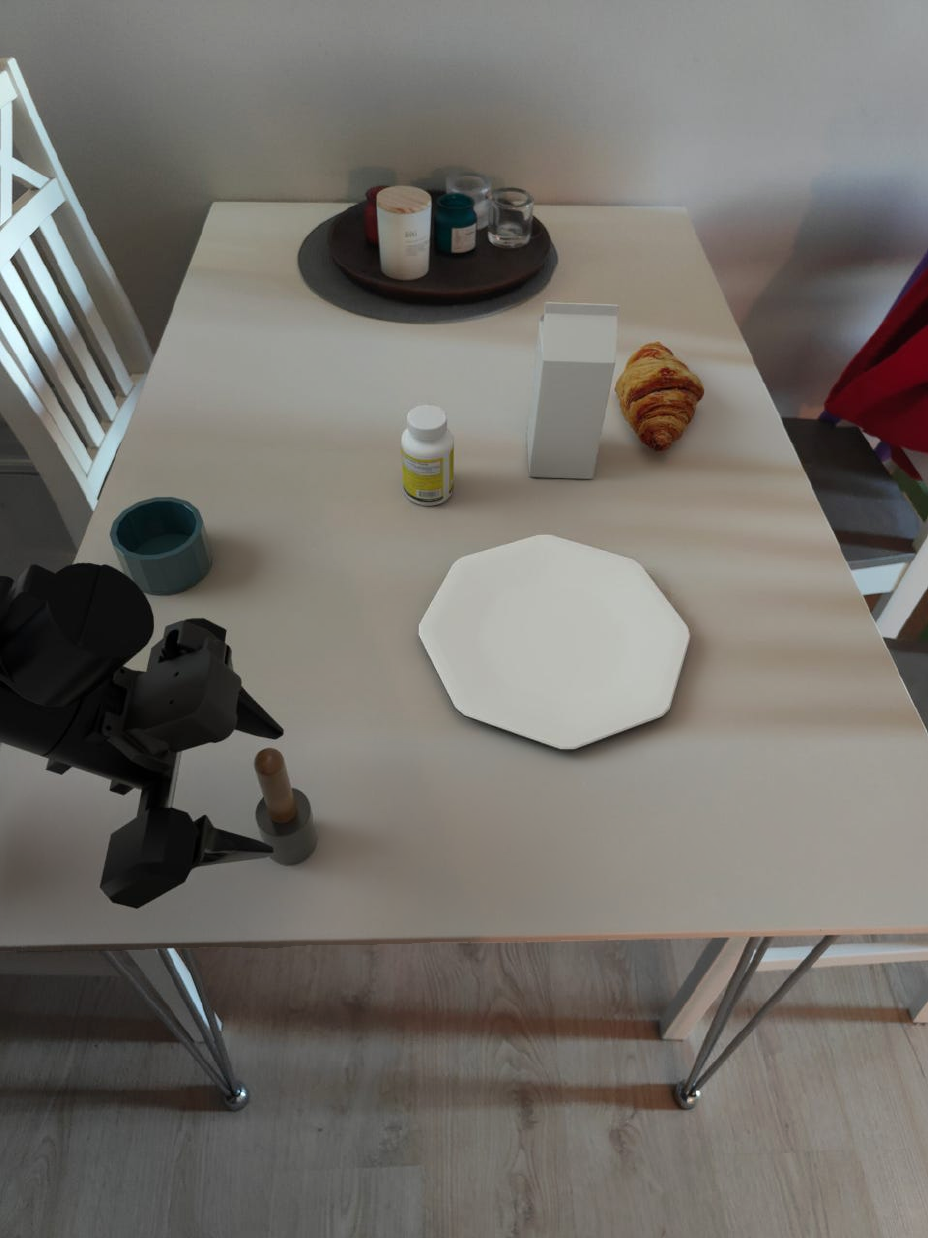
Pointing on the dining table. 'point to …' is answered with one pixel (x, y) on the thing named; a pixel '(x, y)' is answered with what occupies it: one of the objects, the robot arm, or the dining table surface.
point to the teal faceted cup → (162, 545)
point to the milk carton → (570, 388)
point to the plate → (555, 641)
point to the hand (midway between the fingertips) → (275, 791)
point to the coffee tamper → (283, 811)
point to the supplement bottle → (427, 456)
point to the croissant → (658, 395)
